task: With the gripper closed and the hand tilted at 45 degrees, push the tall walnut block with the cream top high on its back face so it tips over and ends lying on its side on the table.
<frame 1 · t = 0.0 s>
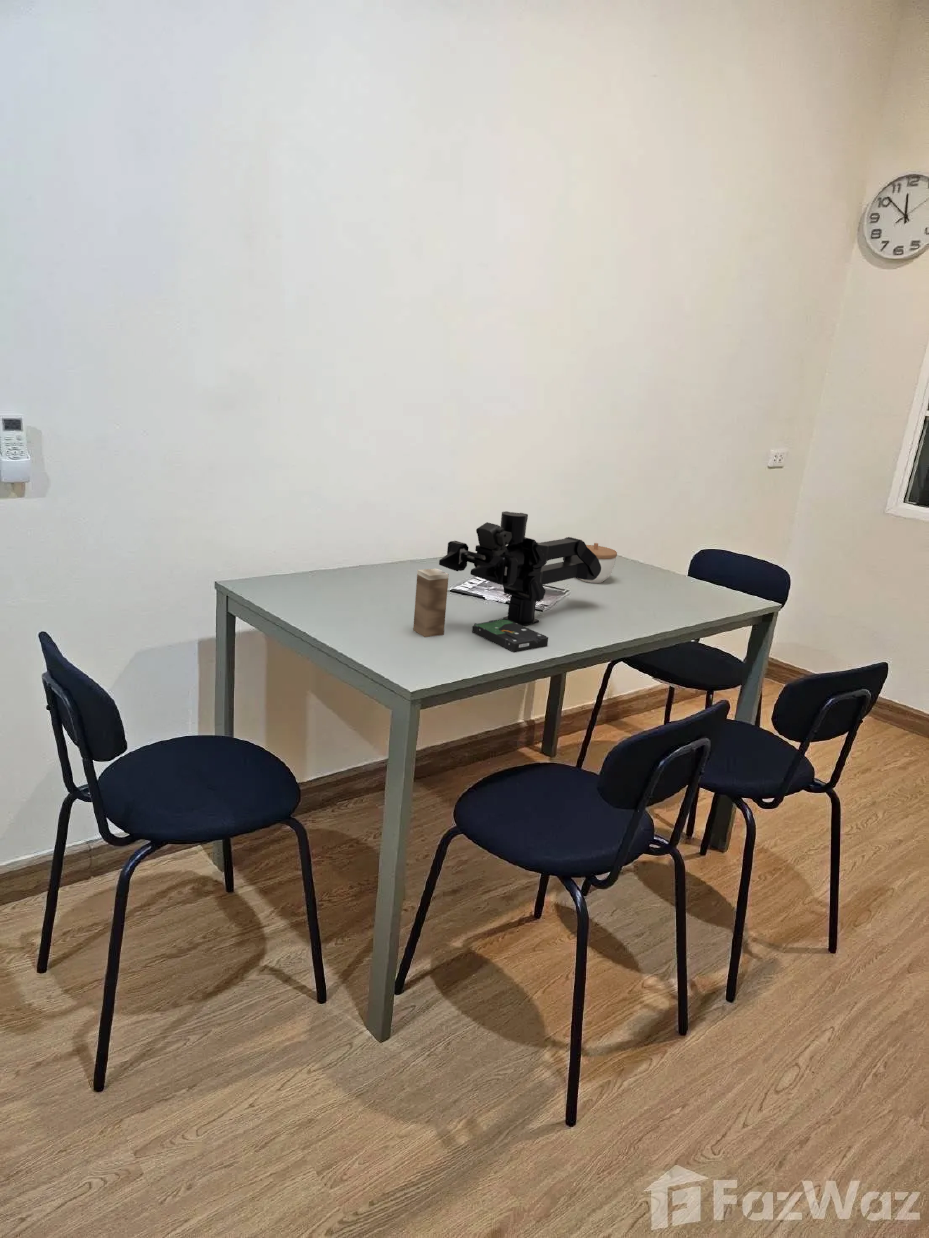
hand: (455, 567, 182), 17 cm above the table, tool horizontal, fingers open, 9 cm apart
disk drive: (508, 642, 192), on the table
walnut block: (428, 632, 191), on the table
lidded bowl: (591, 580, 251), on the table
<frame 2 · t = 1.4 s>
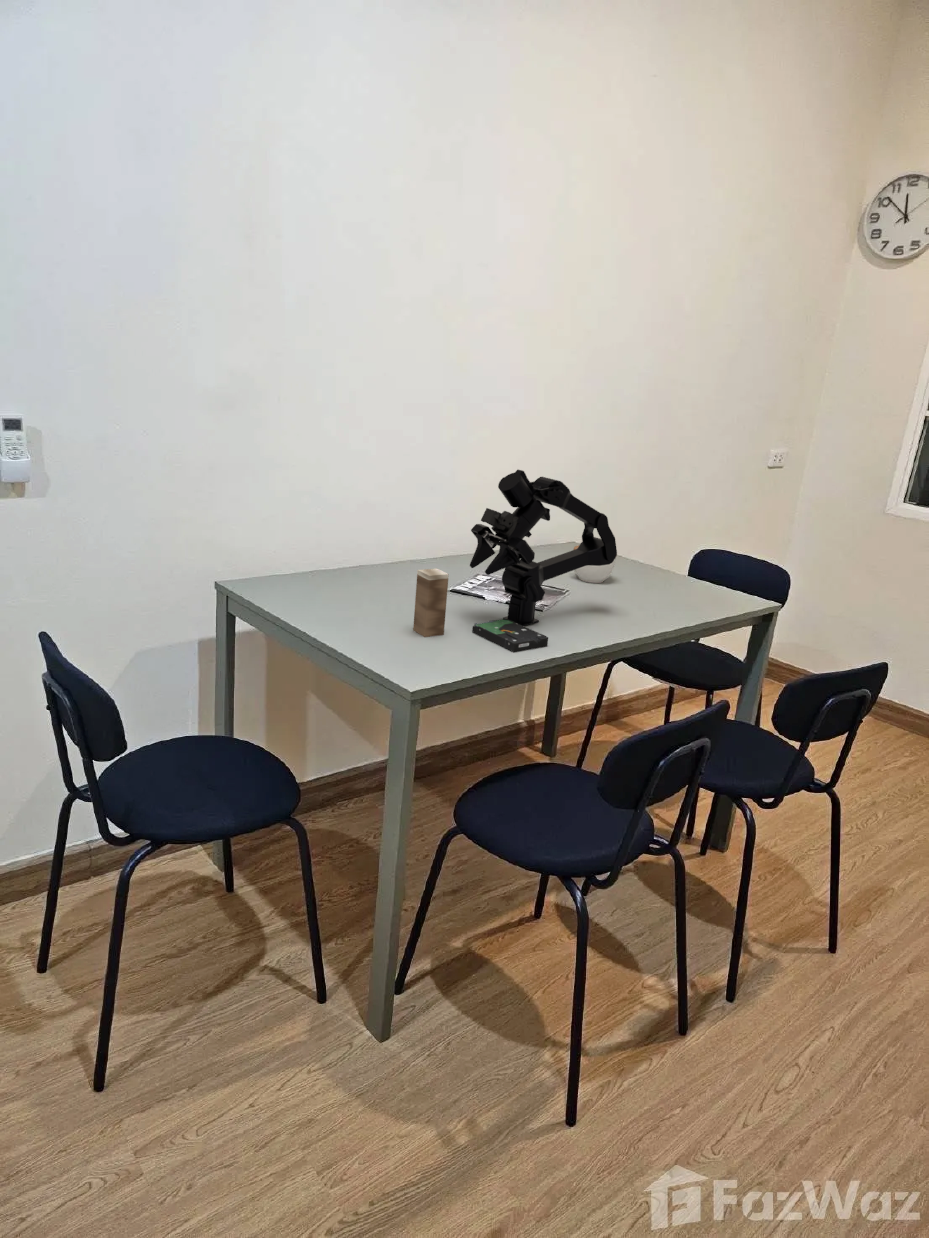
hand: (478, 570, 194), 14 cm above the table, tool tilted 45°, fingers open, 6 cm apart
nothing on the table moved.
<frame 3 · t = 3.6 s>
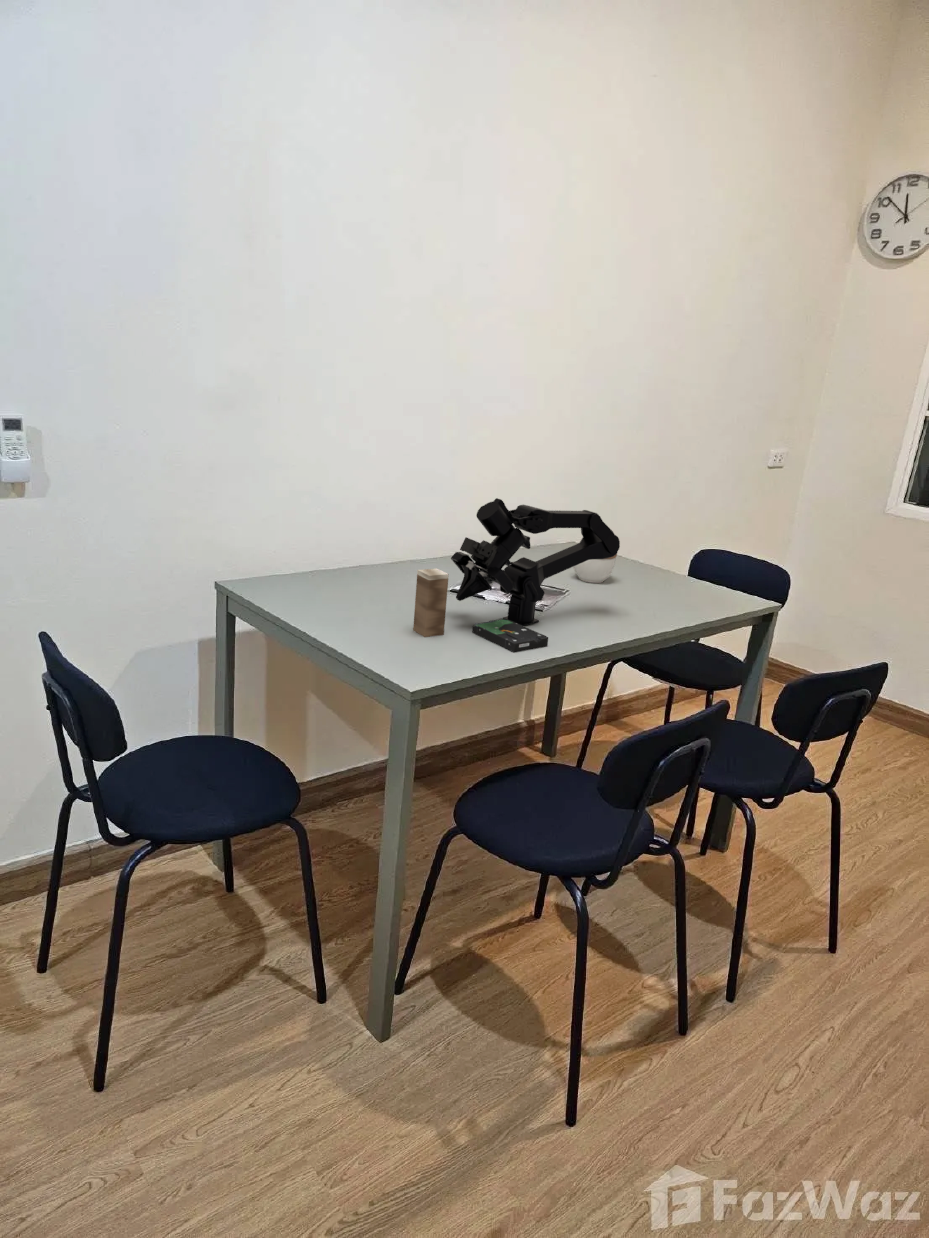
hand: (457, 599, 193), 7 cm above the table, tool tilted 45°, fingers closed
nothing on the table moved.
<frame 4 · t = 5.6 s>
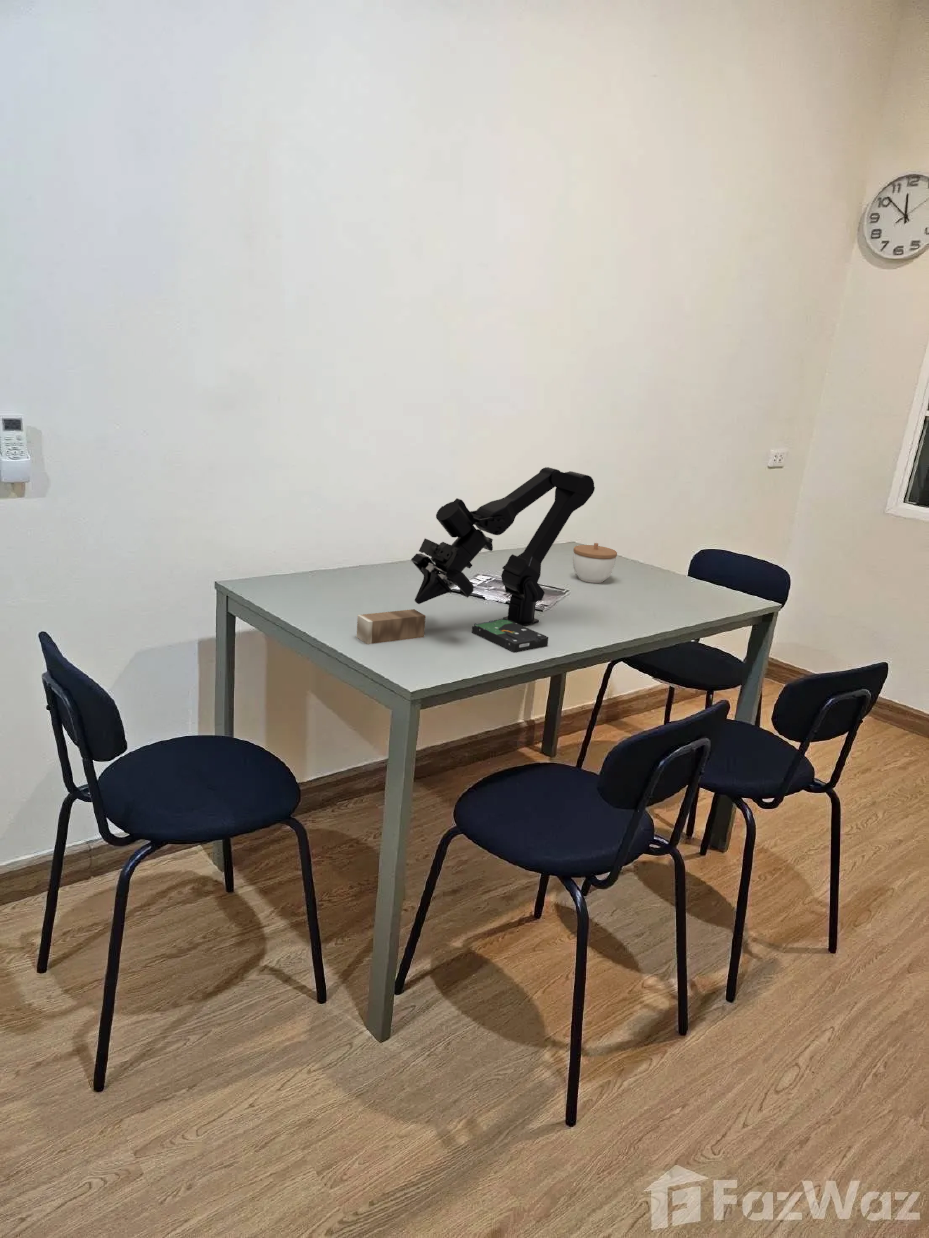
hand: (416, 602, 187), 7 cm above the table, tool tilted 45°, fingers closed
walnut block: (419, 623, 189), point 2 cm above the table, tilted 90°
everything else where it was.
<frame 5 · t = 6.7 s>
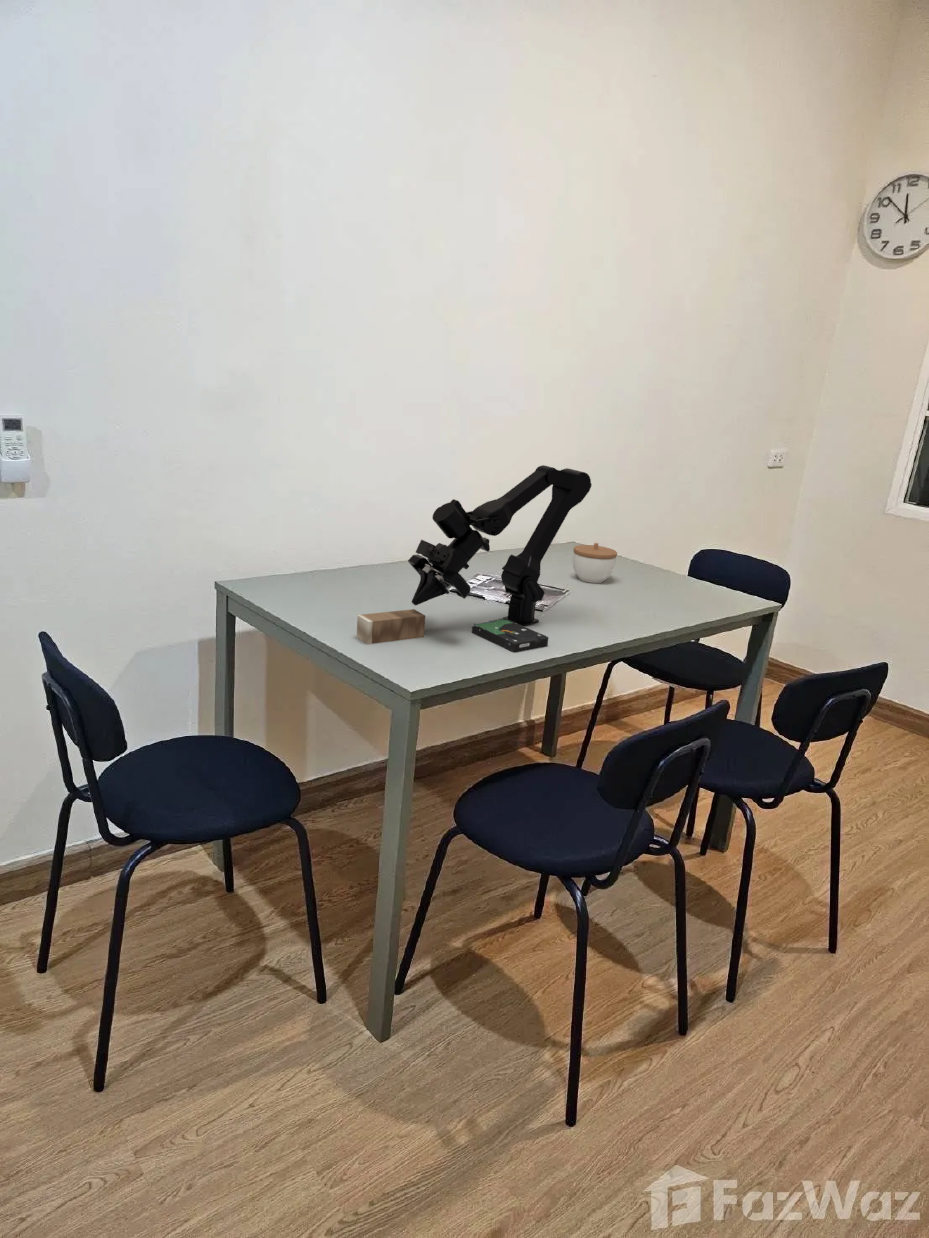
hand: (413, 603, 187), 7 cm above the table, tool tilted 45°, fingers closed
nothing on the table moved.
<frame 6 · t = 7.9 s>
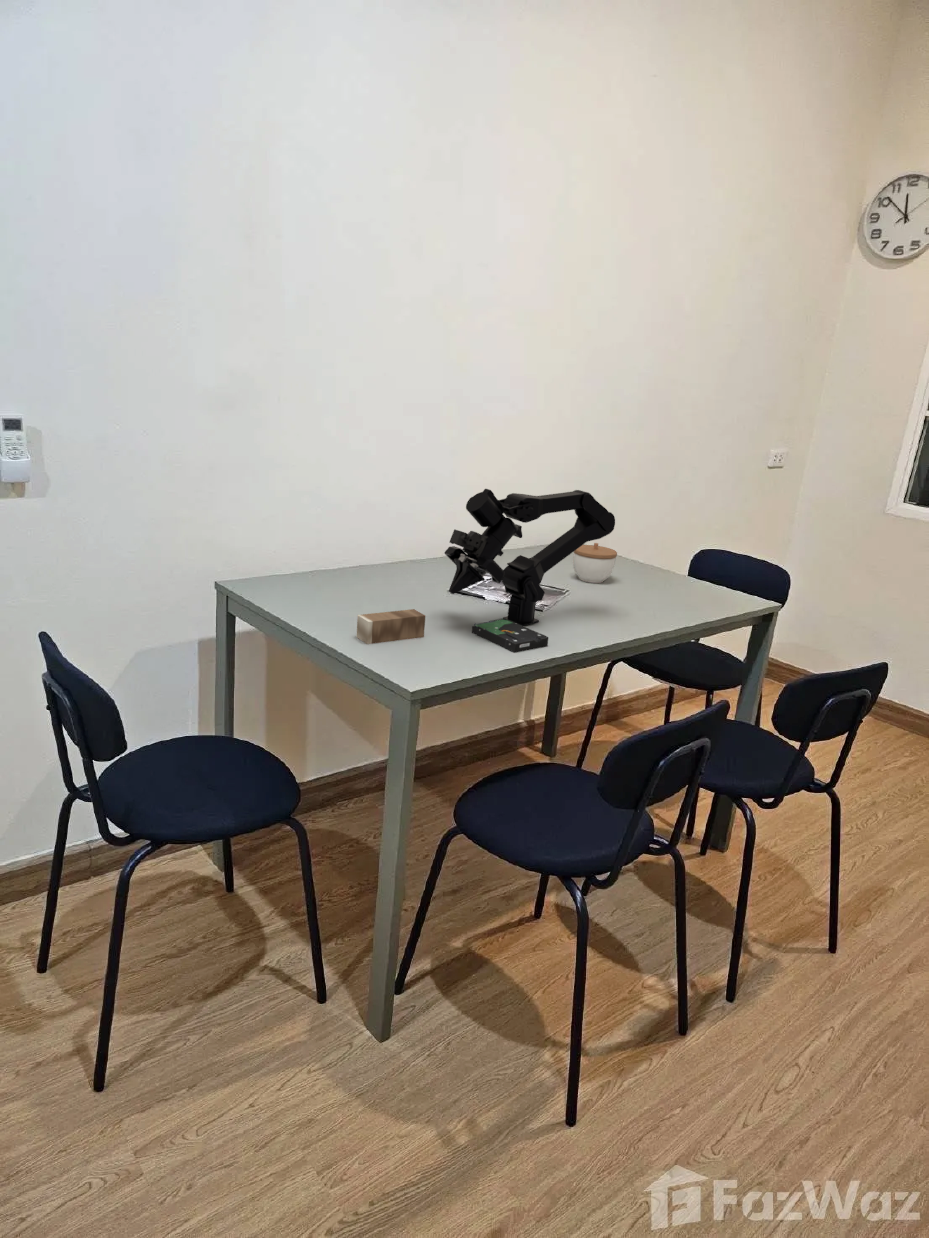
hand: (450, 592, 191), 9 cm above the table, tool tilted 40°, fingers closed
nothing on the table moved.
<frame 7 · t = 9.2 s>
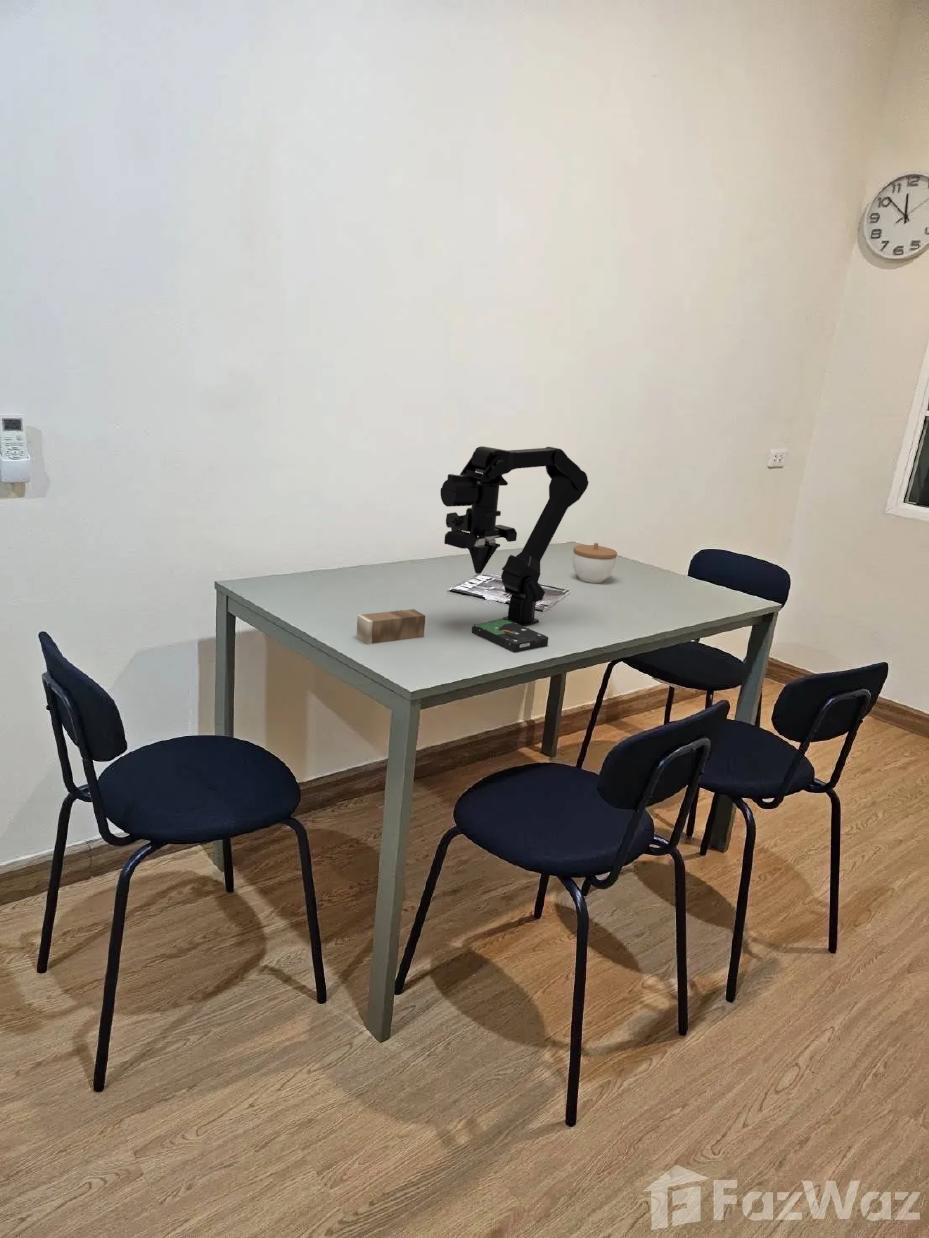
hand: (478, 573, 193), 13 cm above the table, tool pointing down, fingers closed
nothing on the table moved.
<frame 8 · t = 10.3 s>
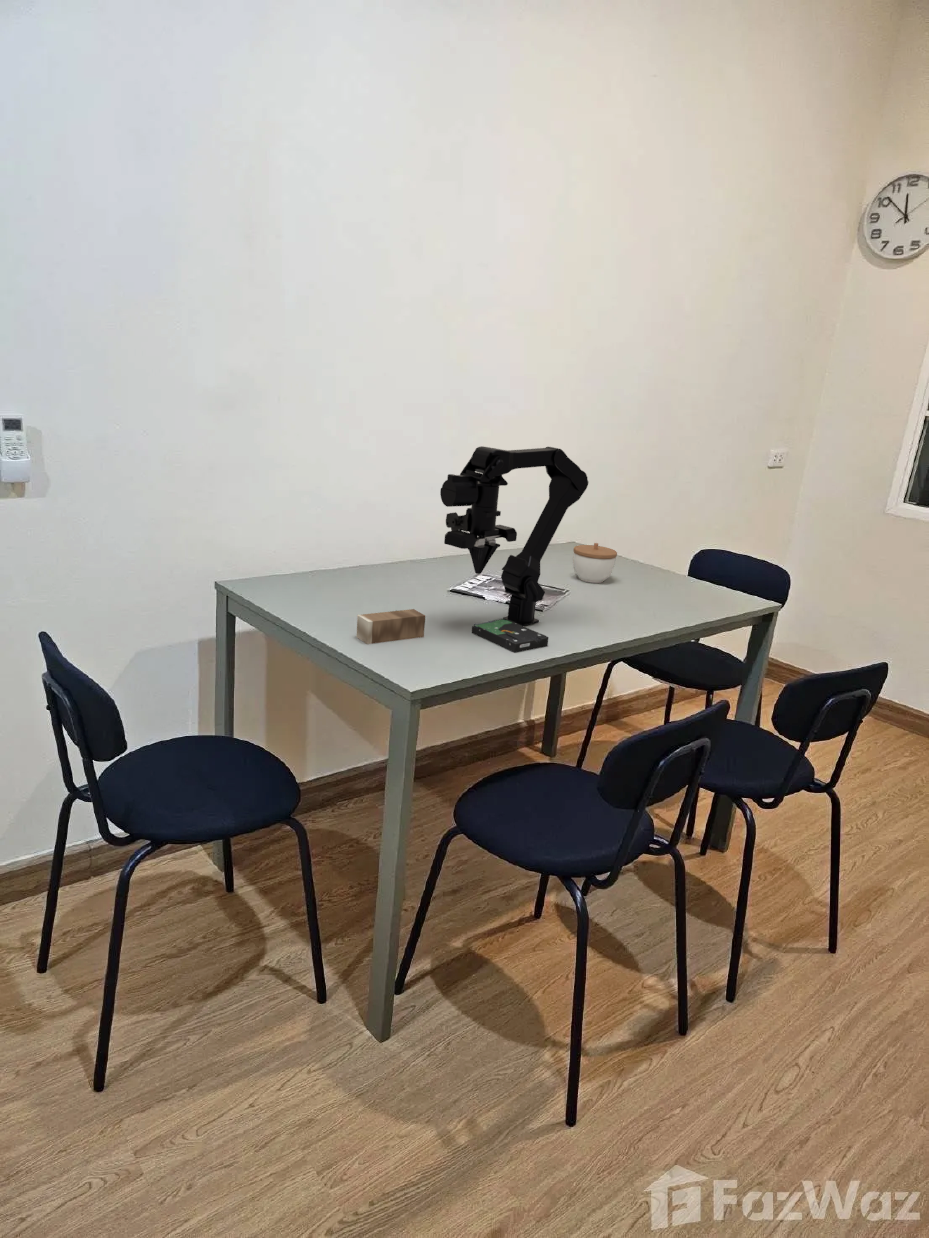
hand: (478, 573, 193), 13 cm above the table, tool pointing down, fingers closed
nothing on the table moved.
at the end: walnut block tilted 90°; walnut block inside the target area (4.6 cm from its centre), point 2.4 cm above the table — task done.
